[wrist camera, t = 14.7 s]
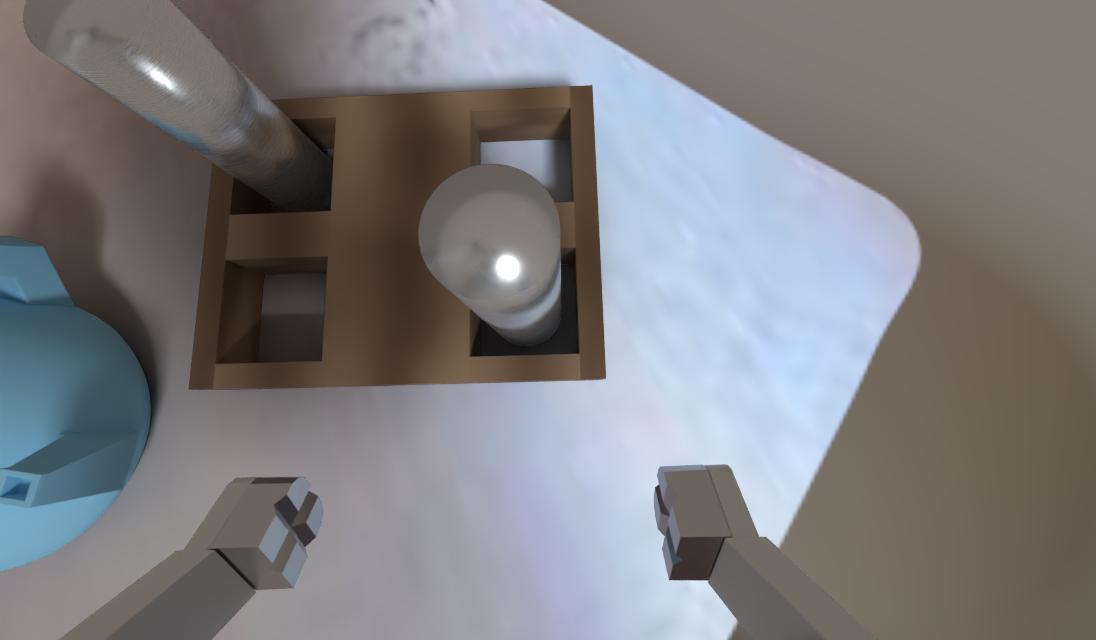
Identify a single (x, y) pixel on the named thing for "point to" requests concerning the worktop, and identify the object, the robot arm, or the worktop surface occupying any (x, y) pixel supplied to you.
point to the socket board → (390, 246)
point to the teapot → (60, 409)
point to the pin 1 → (184, 91)
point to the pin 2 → (497, 249)
